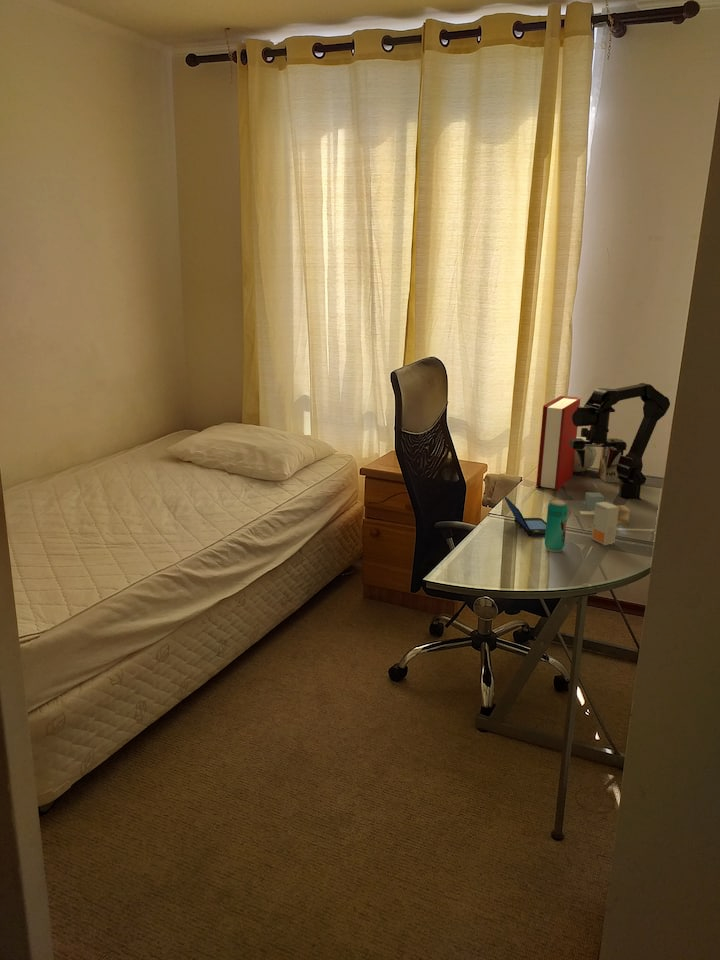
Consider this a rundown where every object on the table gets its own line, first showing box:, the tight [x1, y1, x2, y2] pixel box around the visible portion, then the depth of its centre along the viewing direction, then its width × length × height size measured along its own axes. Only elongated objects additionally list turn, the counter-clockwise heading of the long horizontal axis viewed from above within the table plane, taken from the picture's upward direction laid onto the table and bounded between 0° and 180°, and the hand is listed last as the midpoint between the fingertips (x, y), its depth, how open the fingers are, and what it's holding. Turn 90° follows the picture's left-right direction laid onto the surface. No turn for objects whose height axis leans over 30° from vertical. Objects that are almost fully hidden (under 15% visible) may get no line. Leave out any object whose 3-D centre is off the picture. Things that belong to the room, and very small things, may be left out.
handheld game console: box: [504, 496, 547, 538], centre depth 239 cm, size 16×13×9 cm
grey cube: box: [584, 491, 605, 510], centre depth 260 cm, size 5×5×5 cm
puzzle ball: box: [573, 435, 597, 473], centre depth 309 cm, size 15×15×15 cm
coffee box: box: [598, 437, 625, 483], centre depth 298 cm, size 9×6×16 cm
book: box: [535, 395, 581, 491], centre depth 292 cm, size 27×8×32 cm, turn 152°
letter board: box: [563, 499, 616, 517], centre depth 261 cm, size 18×18×1 cm
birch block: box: [615, 504, 631, 525], centre depth 246 cm, size 6×6×6 cm
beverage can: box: [544, 498, 569, 553], centre depth 220 cm, size 6×6×15 cm
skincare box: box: [591, 502, 619, 546], centre depth 228 cm, size 6×4×12 cm
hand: (595, 467), depth 266 cm, fingers open, 9 cm apart
